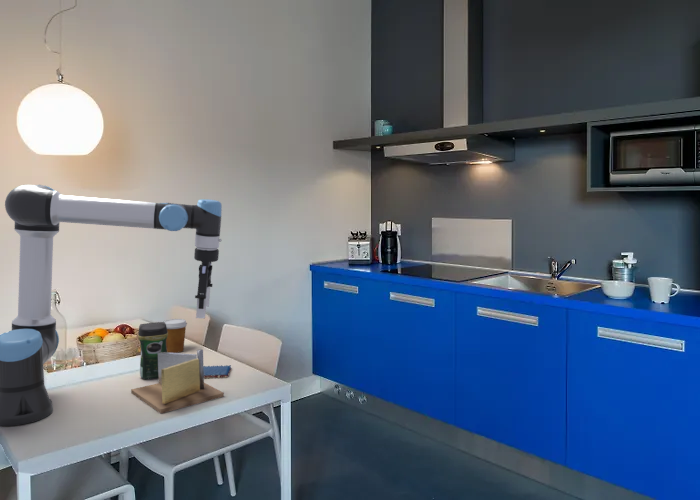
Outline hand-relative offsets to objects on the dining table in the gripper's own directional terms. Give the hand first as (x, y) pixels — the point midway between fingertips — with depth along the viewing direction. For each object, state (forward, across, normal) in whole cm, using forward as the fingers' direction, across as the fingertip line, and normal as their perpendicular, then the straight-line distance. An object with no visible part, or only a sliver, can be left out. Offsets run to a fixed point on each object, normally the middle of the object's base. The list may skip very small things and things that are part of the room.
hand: (202, 311), depth 182 cm
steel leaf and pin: (+23, -8, +4) cm, 25 cm away
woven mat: (+24, +6, -5) cm, 26 cm away
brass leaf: (+21, -19, +3) cm, 28 cm away
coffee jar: (+26, +7, +15) cm, 31 cm away
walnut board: (+23, -13, +5) cm, 27 cm away
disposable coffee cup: (+28, +38, +12) cm, 49 cm away
